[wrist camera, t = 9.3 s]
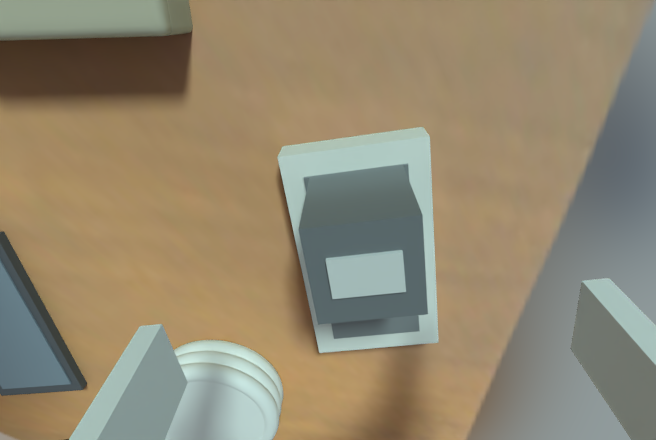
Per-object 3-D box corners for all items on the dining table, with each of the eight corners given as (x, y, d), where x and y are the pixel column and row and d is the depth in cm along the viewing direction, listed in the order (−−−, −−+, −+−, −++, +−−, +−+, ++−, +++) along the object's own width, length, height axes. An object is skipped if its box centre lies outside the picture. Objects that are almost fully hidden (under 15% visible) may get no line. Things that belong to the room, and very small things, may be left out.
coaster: (301, 359, 31) (297, 398, 28) (262, 437, 36) (254, 478, 32) (173, 319, 30) (153, 354, 27) (149, 405, 34) (129, 444, 31)
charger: (309, 177, 22) (297, 231, 16) (402, 165, 22) (423, 216, 16) (323, 256, 24) (317, 327, 19) (408, 246, 24) (428, 317, 18)
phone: (-85, 238, 28) (-103, 247, 27) (9, 227, 27) (-5, 237, 26) (12, 383, 34) (0, 396, 33) (91, 377, 34) (82, 390, 32)
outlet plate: (282, 146, 24) (277, 158, 22) (423, 126, 23) (430, 137, 21) (320, 332, 30) (319, 354, 28) (432, 322, 29) (438, 344, 27)
